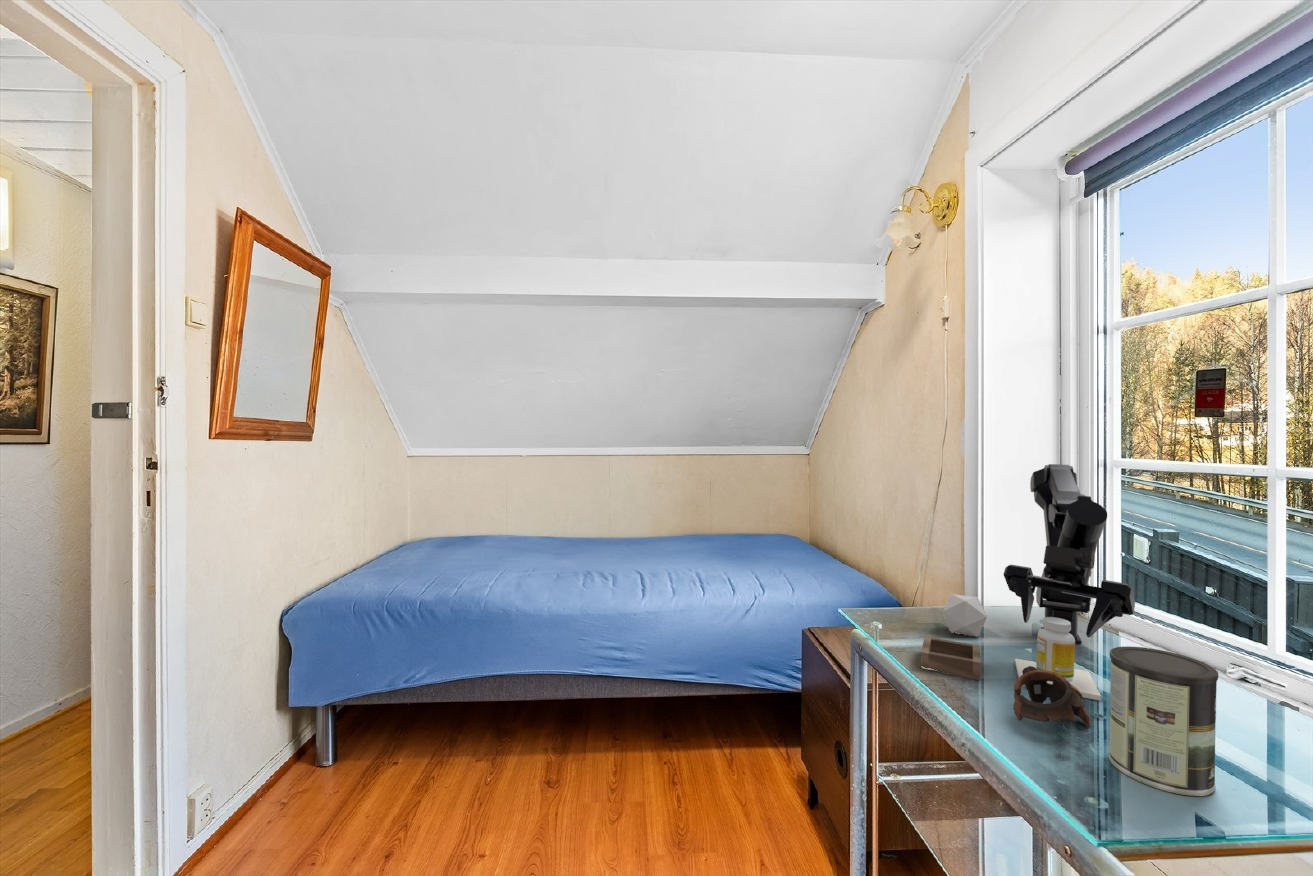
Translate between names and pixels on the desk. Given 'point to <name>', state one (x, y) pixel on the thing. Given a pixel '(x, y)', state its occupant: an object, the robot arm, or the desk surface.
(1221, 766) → the desk surface
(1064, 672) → the supplement bottle
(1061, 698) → the broken brown clay pot
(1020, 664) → the off-white coaster
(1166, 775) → the coffee can
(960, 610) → the die
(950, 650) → the walnut holder
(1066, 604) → the robot arm
